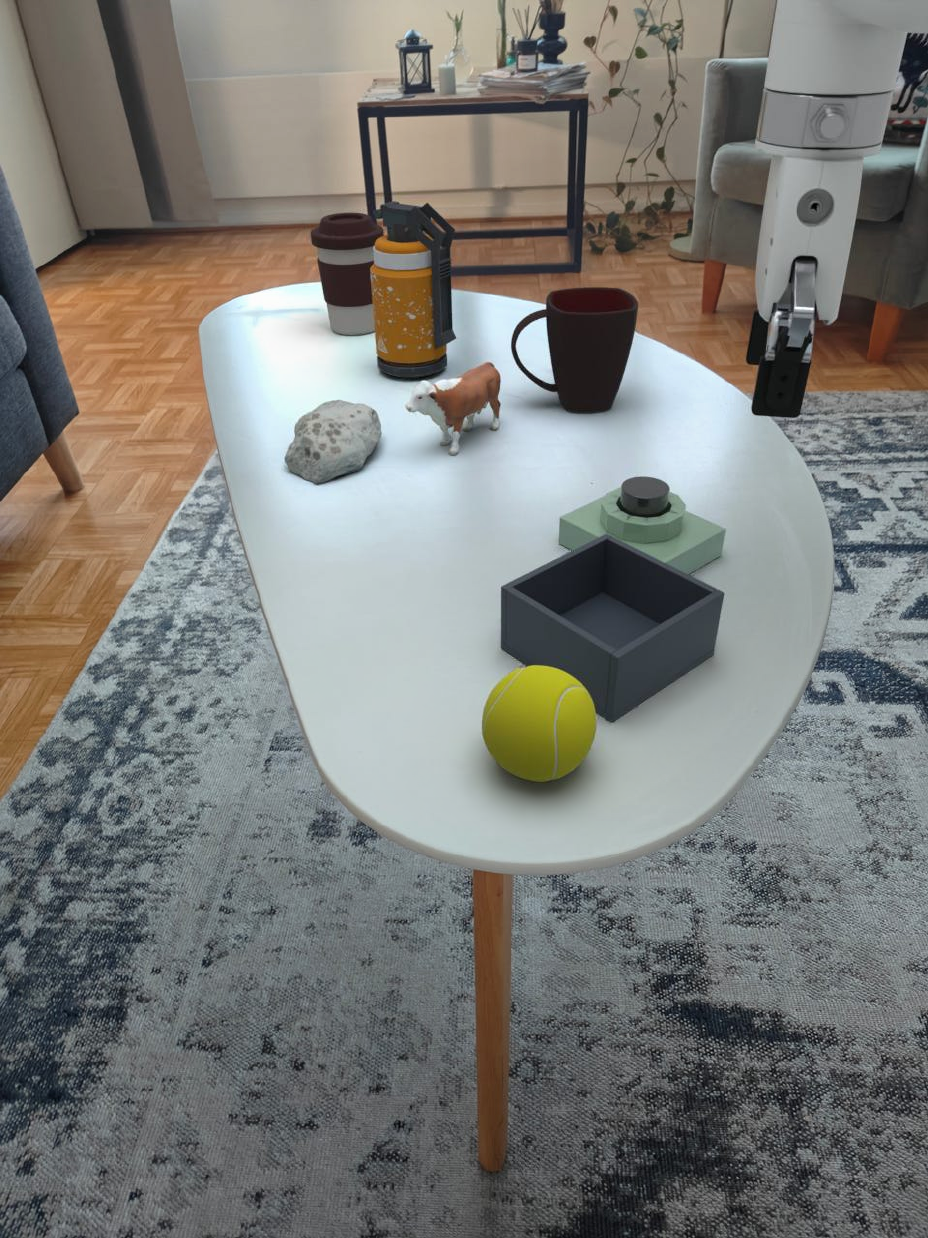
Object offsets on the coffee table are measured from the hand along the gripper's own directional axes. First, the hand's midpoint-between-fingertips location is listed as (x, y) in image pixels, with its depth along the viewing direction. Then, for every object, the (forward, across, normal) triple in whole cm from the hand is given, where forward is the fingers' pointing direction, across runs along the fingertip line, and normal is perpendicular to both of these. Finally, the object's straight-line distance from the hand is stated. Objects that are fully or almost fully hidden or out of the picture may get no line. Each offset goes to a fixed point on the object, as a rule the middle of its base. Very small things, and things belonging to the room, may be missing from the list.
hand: (770, 388), depth 66 cm
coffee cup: (+17, +58, +52) cm, 79 cm away
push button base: (+16, +3, +8) cm, 18 cm away
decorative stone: (+17, +16, +41) cm, 47 cm away
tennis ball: (+16, -25, +13) cm, 33 cm away
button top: (+12, +3, +8) cm, 15 cm away
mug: (+17, +34, +18) cm, 42 cm away
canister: (+17, +42, +38) cm, 60 cm away
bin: (+16, -12, +10) cm, 23 cm away
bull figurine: (+17, +22, +28) cm, 40 cm away
